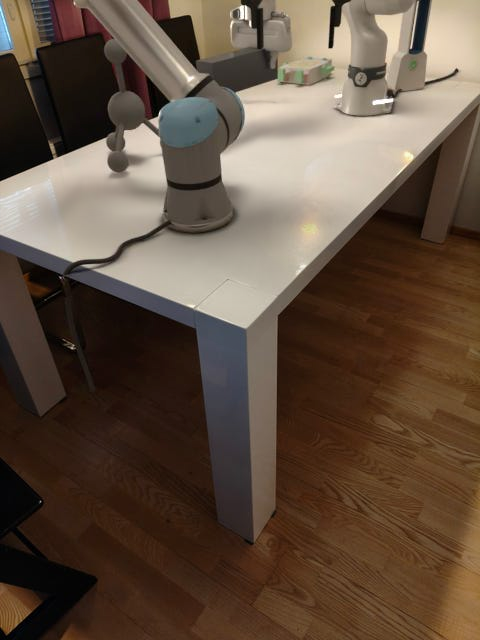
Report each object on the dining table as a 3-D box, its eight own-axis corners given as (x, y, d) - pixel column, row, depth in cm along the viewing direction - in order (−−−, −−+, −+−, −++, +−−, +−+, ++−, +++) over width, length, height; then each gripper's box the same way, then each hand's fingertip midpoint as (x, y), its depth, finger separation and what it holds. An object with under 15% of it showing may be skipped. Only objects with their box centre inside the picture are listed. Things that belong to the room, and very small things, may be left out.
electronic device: (394, 92, 183) (407, -4, 164) (384, 88, 188) (396, -5, 170) (424, 88, 185) (440, -6, 166) (413, 84, 191) (428, -8, 172)
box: (215, 99, 130) (212, 62, 124) (199, 96, 133) (195, 60, 128) (277, 78, 144) (277, 45, 139) (261, 76, 148) (261, 44, 142)
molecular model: (192, 164, 133) (178, 39, 115) (111, 178, 128) (83, 49, 109) (169, 139, 151) (154, 28, 132) (98, 152, 145) (72, 36, 127)
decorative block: (300, 55, 216) (341, 58, 206) (299, 71, 220) (340, 74, 210) (268, 66, 200) (311, 70, 190) (268, 83, 204) (310, 87, 194)
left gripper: (375, -102, 81) (362, 43, 94) (230, -91, 86) (236, 45, 99) (375, -105, 75) (360, 50, 88) (219, -93, 80) (227, 52, 93)
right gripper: (297, 11, 129) (296, 68, 138) (240, 8, 141) (243, 61, 149) (282, 14, 126) (282, 72, 134) (225, 11, 137) (229, 65, 146)
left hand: (295, 48), depth 94 cm, fingers open, 13 cm apart
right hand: (261, 67), depth 142 cm, fingers closed on box, 6 cm apart
